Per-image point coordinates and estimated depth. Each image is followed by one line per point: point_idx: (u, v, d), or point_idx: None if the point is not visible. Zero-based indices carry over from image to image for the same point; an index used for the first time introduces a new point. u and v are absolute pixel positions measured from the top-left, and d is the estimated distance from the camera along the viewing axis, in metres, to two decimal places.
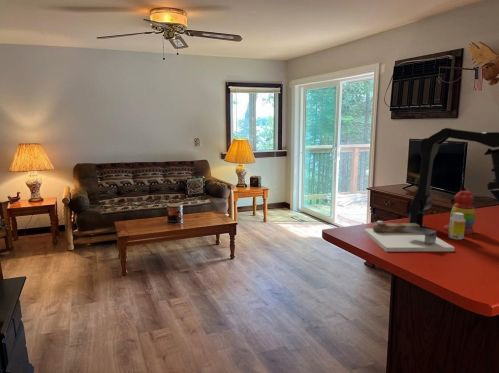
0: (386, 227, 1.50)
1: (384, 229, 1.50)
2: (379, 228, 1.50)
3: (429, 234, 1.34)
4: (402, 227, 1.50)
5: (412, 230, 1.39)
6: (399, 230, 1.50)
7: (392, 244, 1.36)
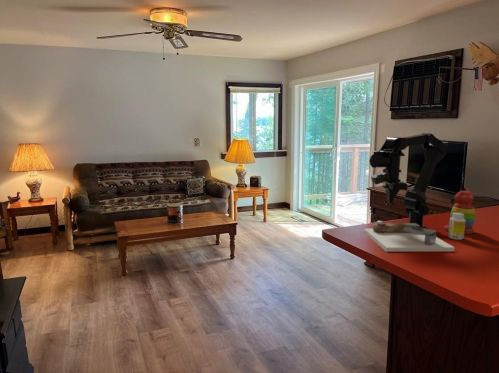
0: (386, 227, 1.50)
1: (384, 229, 1.50)
2: (379, 228, 1.50)
3: (429, 234, 1.34)
4: (402, 227, 1.50)
5: (412, 230, 1.39)
6: (399, 230, 1.50)
7: (392, 244, 1.36)
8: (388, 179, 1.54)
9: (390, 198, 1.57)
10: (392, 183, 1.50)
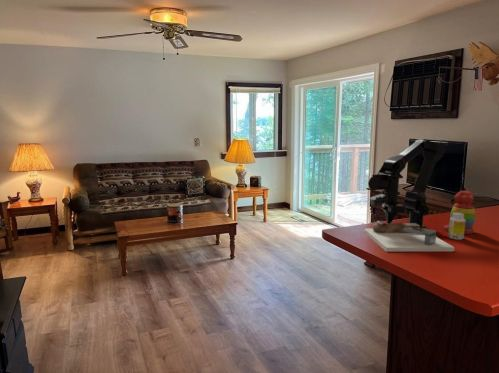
0: (386, 227, 1.50)
1: (384, 229, 1.50)
2: (379, 228, 1.50)
3: (429, 234, 1.34)
4: (402, 227, 1.50)
5: (412, 230, 1.39)
6: (399, 230, 1.50)
7: (392, 244, 1.36)
8: (387, 201, 1.55)
9: (389, 219, 1.59)
10: (390, 206, 1.51)
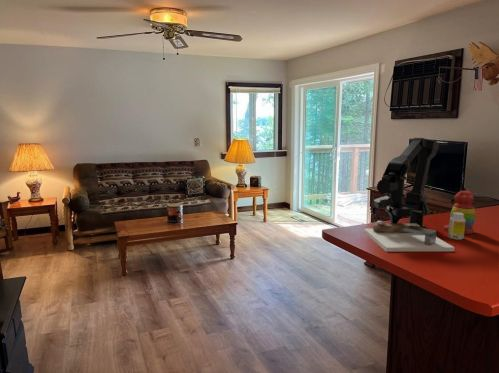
0: (386, 227, 1.50)
1: (384, 229, 1.50)
2: (378, 228, 1.50)
3: (429, 234, 1.34)
4: (402, 227, 1.50)
5: (412, 230, 1.39)
6: (399, 230, 1.50)
7: (392, 244, 1.36)
8: (391, 204, 1.50)
9: (393, 222, 1.54)
10: (395, 209, 1.46)
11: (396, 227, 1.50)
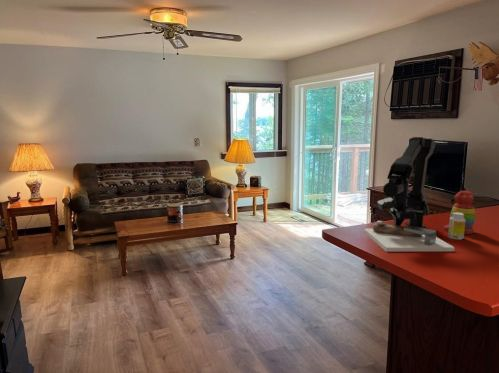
0: (384, 227, 1.49)
1: (382, 229, 1.50)
2: (376, 228, 1.50)
3: (429, 234, 1.34)
4: (401, 230, 1.47)
5: (412, 230, 1.39)
6: (398, 232, 1.47)
7: (392, 244, 1.36)
8: (395, 206, 1.47)
9: (397, 224, 1.51)
10: (399, 211, 1.43)
11: (395, 229, 1.48)
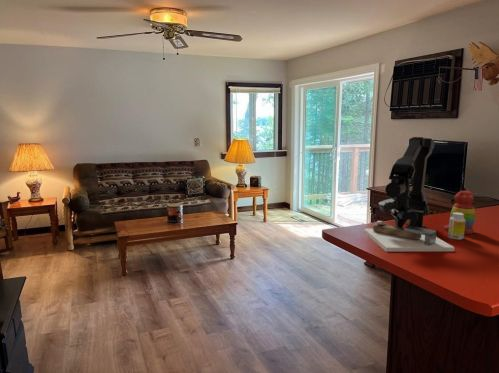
0: (382, 228, 1.49)
1: (379, 229, 1.50)
2: (374, 227, 1.51)
3: (429, 234, 1.34)
4: (398, 231, 1.45)
5: (412, 230, 1.39)
6: (395, 233, 1.46)
7: (392, 244, 1.36)
8: (397, 207, 1.45)
9: (398, 226, 1.49)
10: (401, 212, 1.41)
11: (392, 230, 1.46)
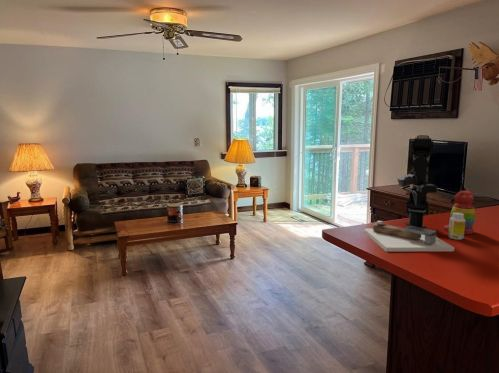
0: (382, 228, 1.49)
1: (379, 229, 1.50)
2: (374, 227, 1.51)
3: (429, 234, 1.34)
4: (398, 231, 1.45)
5: (412, 230, 1.39)
6: (395, 233, 1.46)
7: (392, 244, 1.36)
8: (416, 181, 1.48)
9: (417, 201, 1.52)
10: (421, 185, 1.44)
11: (392, 230, 1.46)
